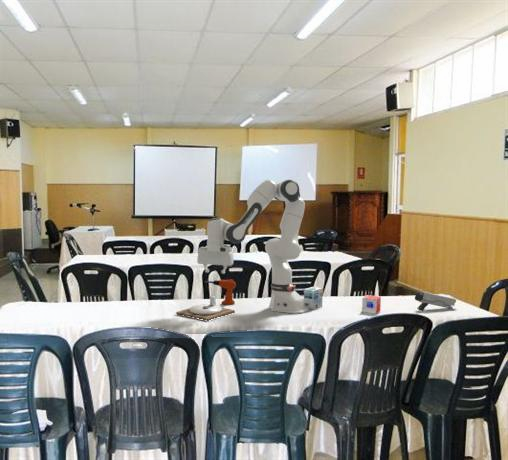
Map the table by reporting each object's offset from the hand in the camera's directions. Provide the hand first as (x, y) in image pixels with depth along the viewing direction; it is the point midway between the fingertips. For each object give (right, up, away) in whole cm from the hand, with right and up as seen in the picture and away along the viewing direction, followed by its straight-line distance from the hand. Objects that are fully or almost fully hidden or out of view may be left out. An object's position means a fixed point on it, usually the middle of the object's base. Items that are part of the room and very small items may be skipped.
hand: (215, 272), depth 259 cm
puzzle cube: (+86, -22, +6) cm, 89 cm away
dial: (-5, -20, -5) cm, 21 cm away
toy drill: (+2, -20, +18) cm, 27 cm away
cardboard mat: (-5, -21, -5) cm, 22 cm away
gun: (+124, -22, +12) cm, 126 cm away
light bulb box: (+55, -21, +13) cm, 60 cm away
